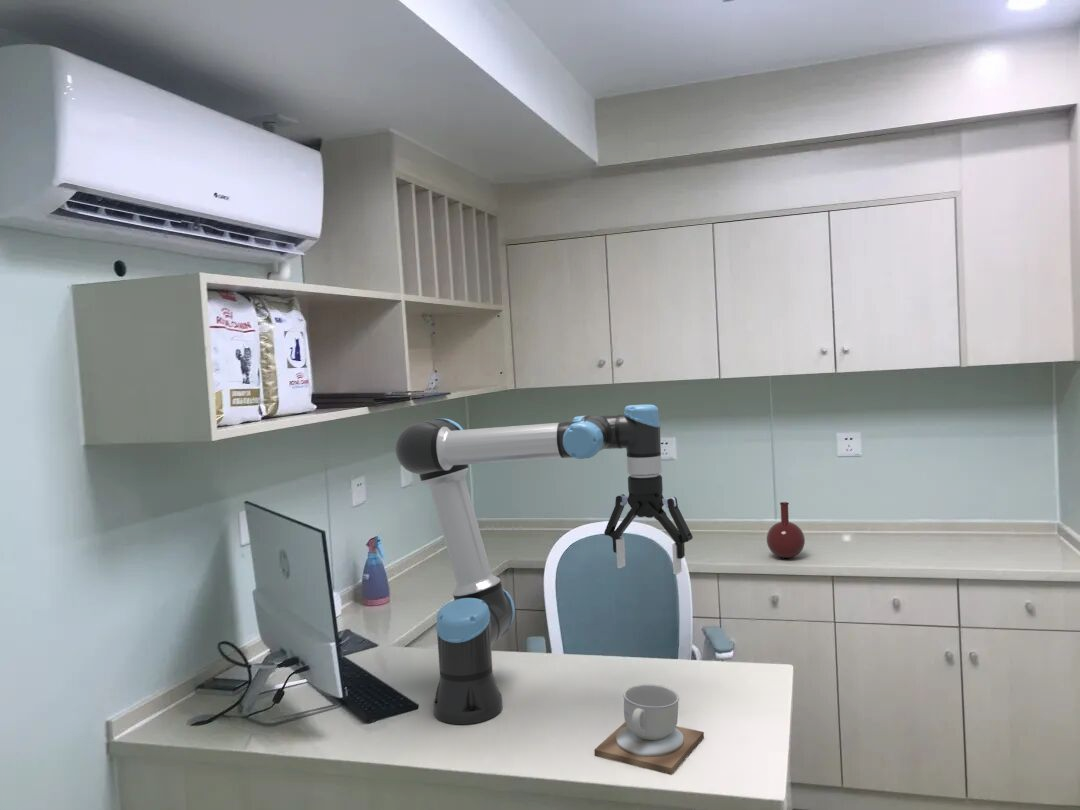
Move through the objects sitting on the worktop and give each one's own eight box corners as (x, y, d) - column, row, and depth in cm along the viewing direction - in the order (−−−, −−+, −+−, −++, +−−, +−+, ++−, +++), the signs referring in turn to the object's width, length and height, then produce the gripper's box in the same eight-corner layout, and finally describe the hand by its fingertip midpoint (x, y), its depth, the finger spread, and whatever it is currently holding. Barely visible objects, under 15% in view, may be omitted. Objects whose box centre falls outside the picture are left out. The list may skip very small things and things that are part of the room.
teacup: (643, 716, 171) (641, 678, 171) (690, 729, 164) (688, 690, 164) (605, 743, 160) (603, 703, 160) (653, 758, 154) (651, 716, 153)
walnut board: (594, 755, 160) (594, 745, 160) (631, 722, 173) (630, 712, 173) (671, 774, 151) (671, 763, 151) (703, 737, 165) (703, 728, 165)
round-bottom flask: (778, 552, 308) (776, 498, 306) (811, 556, 298) (810, 501, 297) (760, 559, 298) (758, 504, 297) (794, 564, 289) (792, 507, 288)
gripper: (704, 474, 179) (708, 570, 181) (602, 470, 193) (606, 560, 194) (691, 479, 173) (695, 579, 174) (586, 475, 186) (591, 568, 188)
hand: (649, 570), depth 184 cm, fingers open, 13 cm apart
